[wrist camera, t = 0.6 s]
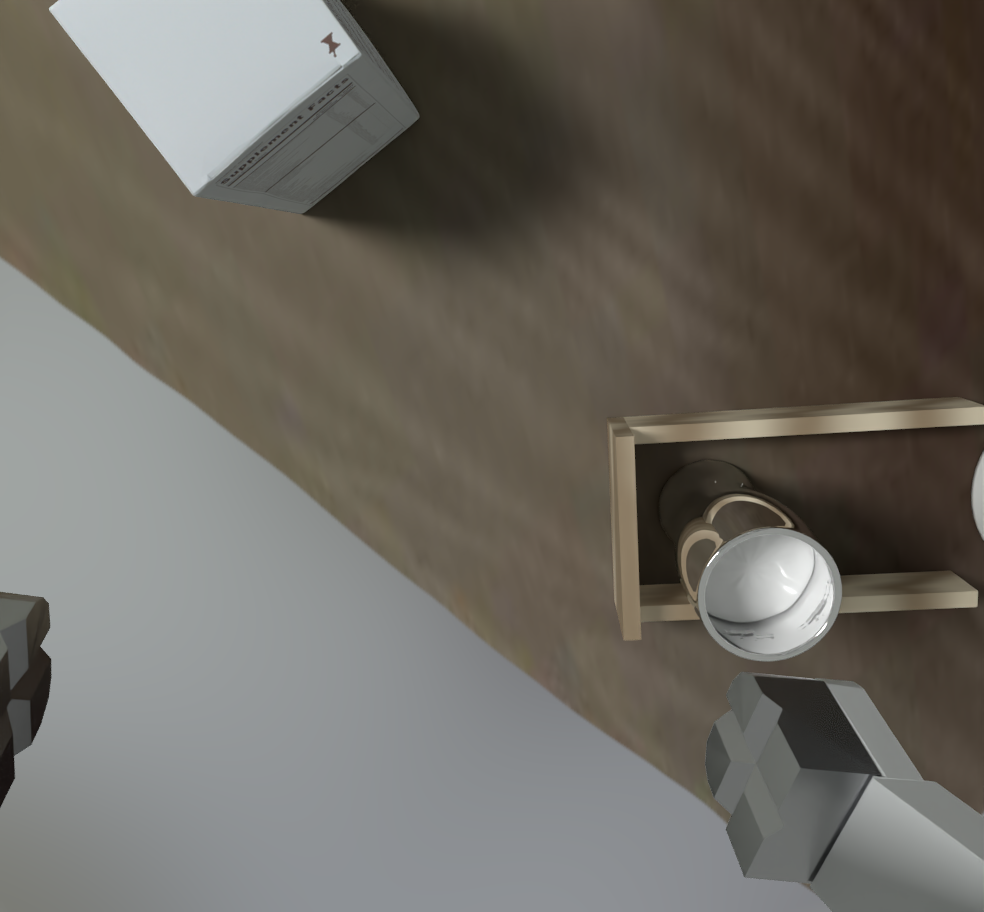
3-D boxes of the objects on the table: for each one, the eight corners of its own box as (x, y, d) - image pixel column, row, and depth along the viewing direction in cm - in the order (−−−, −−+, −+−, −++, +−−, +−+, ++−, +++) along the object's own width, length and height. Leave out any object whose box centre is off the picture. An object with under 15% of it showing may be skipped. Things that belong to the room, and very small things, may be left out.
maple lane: (958, 397, 52) (1011, 414, 47) (949, 585, 55) (999, 624, 49) (606, 417, 54) (615, 437, 48) (614, 601, 56) (623, 640, 50)
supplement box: (325, -22, 49) (219, -164, 33) (425, 116, 50) (372, 47, 34) (198, 88, 51) (37, 6, 34) (299, 220, 52) (190, 201, 36)
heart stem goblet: (774, 543, 55) (861, 646, 40) (666, 571, 56) (712, 681, 41) (749, 439, 54) (830, 506, 39) (639, 468, 54) (677, 545, 40)
